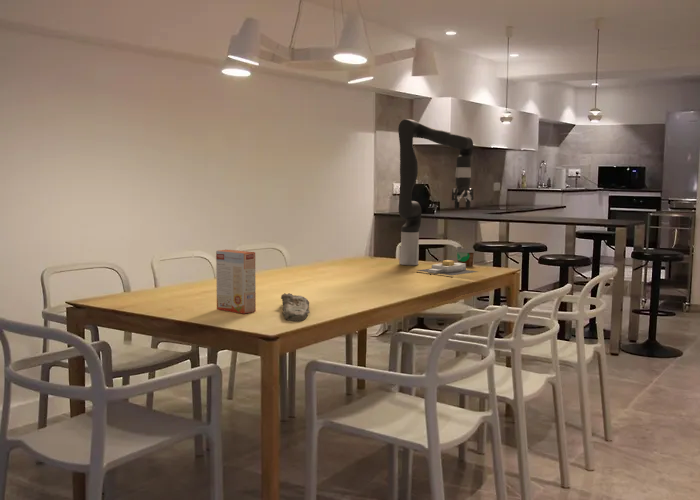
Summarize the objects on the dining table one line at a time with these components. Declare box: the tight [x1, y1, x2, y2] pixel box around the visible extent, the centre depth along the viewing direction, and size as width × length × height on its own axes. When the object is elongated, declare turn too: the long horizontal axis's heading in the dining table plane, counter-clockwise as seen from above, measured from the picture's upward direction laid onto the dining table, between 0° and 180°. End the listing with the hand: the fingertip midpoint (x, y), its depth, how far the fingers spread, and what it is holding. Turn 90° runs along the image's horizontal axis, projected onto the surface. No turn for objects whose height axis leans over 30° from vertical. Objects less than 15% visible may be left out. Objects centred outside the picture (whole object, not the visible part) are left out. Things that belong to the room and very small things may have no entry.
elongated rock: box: [280, 292, 310, 322], centre depth 251 cm, size 35×5×10 cm
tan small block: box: [441, 259, 455, 266], centre depth 349 cm, size 4×4×5 cm
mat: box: [415, 267, 479, 278], centre depth 350 cm, size 22×20×1 cm
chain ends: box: [427, 262, 467, 275], centre depth 350 cm, size 9×22×3 cm, turn 133°
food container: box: [455, 246, 475, 267], centre depth 373 cm, size 12×6×10 cm, turn 25°
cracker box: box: [215, 249, 257, 315], centre depth 250 cm, size 14×6×21 cm, turn 51°
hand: (462, 209), depth 363 cm, fingers open, 8 cm apart
